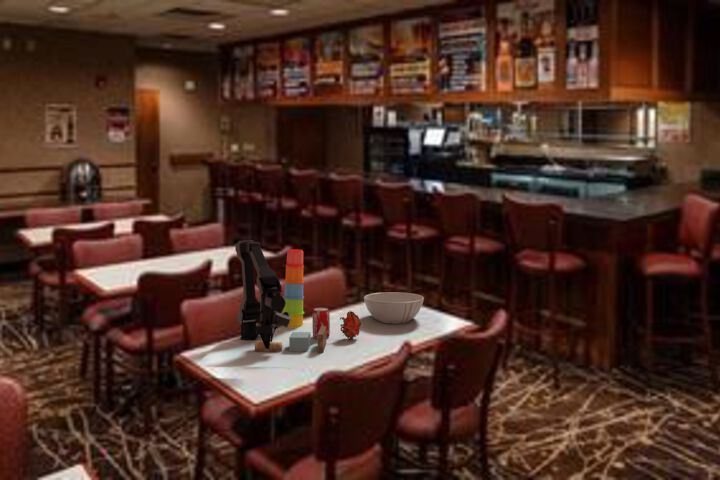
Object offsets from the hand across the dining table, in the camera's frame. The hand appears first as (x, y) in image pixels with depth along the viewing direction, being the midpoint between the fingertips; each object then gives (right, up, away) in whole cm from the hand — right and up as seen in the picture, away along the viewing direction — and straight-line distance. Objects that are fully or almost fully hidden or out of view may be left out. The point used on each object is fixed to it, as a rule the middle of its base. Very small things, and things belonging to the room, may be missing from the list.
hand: (268, 347), depth 258 cm
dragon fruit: (+31, 0, +18) cm, 36 cm away
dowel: (0, -1, 0) cm, 1 cm away
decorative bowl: (+50, +3, +47) cm, 69 cm away
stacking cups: (+5, +2, +37) cm, 37 cm away
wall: (+20, -1, +3) cm, 20 cm away
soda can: (+19, 0, +20) cm, 28 cm away
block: (+12, -1, +4) cm, 12 cm away
